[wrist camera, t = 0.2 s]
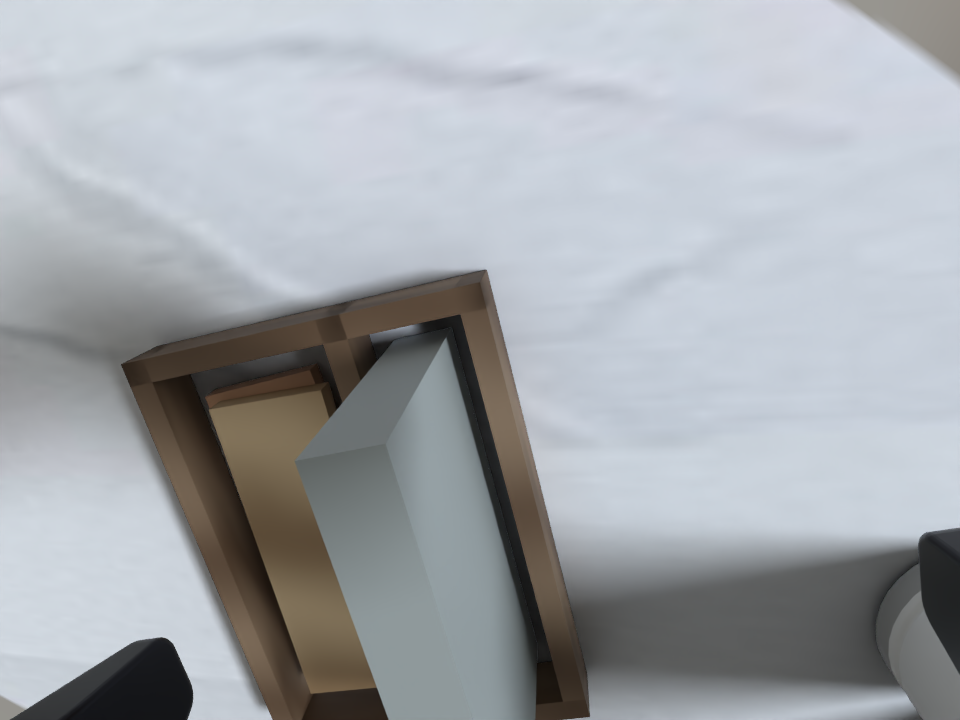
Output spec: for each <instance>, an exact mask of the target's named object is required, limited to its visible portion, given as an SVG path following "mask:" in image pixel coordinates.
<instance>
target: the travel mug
mask: <svg viewBox="0 0 960 720" xmlns="http://www.w3.org/2000/svg"><path fill="white" fill-rule="evenodd" d="M875 636H876V641H877V645H878V650H879V652H880V654H881V656H882V658H883V660H884V662H885V664H886V665H887V667H888V668H889V670H890V671H891V673H892V674H893V676H894V677H895V679H896V680H897V682H898V683H899V685H900V686H901V688H902V689H903V690H904V691H905V692H906V694H907V696H908V698H909V700H910V701H911V703H912V704H913V706H914V707H915V709H916V710H917V712H918V713H919V715H920V716H921V718H922V719H923V720H960V675H959V673H958V671H957V670H956V668H955V666H954V664H953V663H952V661H951V659H950V657H949V656H948V654H947V652H946V650H945V649H944V647H943V645H942V644H941V642H940V640H939V638H938V637H937V635H936V633H935V631H934V630H933V628H932V626H931V624H930V622H929V620H928V618H927V616H926V614H925V611H924V607H923V603H922V598H921V584H920V569H919V563H918V564H917V565H915V566H913V567H912V568H911V569H909V570H908V571H907V572H906V573H905V574H903V575H902V576H901V577H900V578H899V579H898V580H897V581H896V582H895V583H894V585H893V586H892V587H891V588H890V589H889V591H888V592H887V594H886V596H885V598H884V599H883V601H882V603H881V605H880V609H879V612H878V616H877V619H876V633H875Z"/></svg>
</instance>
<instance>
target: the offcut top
mask: <svg viewBox="0 0 960 720" xmlns="http://www.w3.org/2000/svg"><path fill="white" fill-rule="evenodd" d="M336 410H337V408H336V405H335V402H334V398H333V395H332V392H331V388H330V385H329V382H325V383H319V384H313V385H308V386H302V387H296V388H290V389H285V390H279V391H273V392H268V393H262V394H256V395H250V396H245V397H239V398H233V399H228V400H222V401H219V402H218V403H217V404H215V405H214V406H213V407H211V408H210V409H209V412H210V415H211V418H212V421H213V423H214V426H215V429H216V432H217V434H218V437H219V440H220V443H221V446H222V448H223V451H224V454H225V457H226V459H227V462H228V465H229V468H230V471H231V473H232V476H233V479H234V482H235V484H236V487H237V490H238V493H239V496H240V498H241V501H242V504H243V507H244V509H245V512H246V515H247V518H248V521H249V523H250V526H251V529H252V532H253V534H254V537H255V540H256V543H257V546H258V548H259V551H260V554H261V557H262V559H263V562H264V565H265V568H266V571H267V573H268V576H269V579H270V582H271V584H272V587H273V590H274V593H275V596H276V598H277V601H278V604H279V607H280V609H281V612H282V615H283V618H284V620H285V623H286V626H287V629H288V632H289V634H290V637H291V640H292V643H293V645H294V648H295V651H296V654H297V657H298V659H299V662H300V665H301V668H302V670H303V673H304V676H305V679H306V682H307V684H308V687H309V690H310V693H311V694H313V693H324V692H334V691H345V690H356V689H366V688H377V686H376V684H375V681H374V678H373V675H372V673H371V670H370V667H369V664H368V662H367V659H366V656H365V653H364V651H363V648H362V645H361V642H360V640H359V637H358V634H357V631H356V629H355V626H354V623H353V620H352V618H351V615H350V612H349V609H348V607H347V604H346V601H345V598H344V596H343V593H342V590H341V587H340V585H339V582H338V579H337V576H336V574H335V571H334V568H333V565H332V563H331V560H330V557H329V554H328V552H327V549H326V546H325V543H324V541H323V538H322V535H321V532H320V530H319V527H318V524H317V521H316V519H315V516H314V513H313V510H312V508H311V505H310V502H309V499H308V497H307V494H306V491H305V488H304V486H303V483H302V480H301V477H300V475H299V472H298V469H297V466H296V464H295V460H296V459H297V457H298V456H299V455H300V454H301V453H302V451H303V450H304V449H305V448H306V446H307V445H308V444H309V443H310V442H311V440H312V439H313V438H314V437H315V436H316V434H317V433H318V432H319V431H320V430H321V428H322V427H323V426H324V425H325V423H326V422H327V421H328V420H329V419H330V417H331V416H332V415H333V414H334V413H335V411H336Z"/></svg>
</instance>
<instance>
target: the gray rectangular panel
mask: <svg viewBox="0 0 960 720" xmlns="http://www.w3.org/2000/svg"><path fill="white" fill-rule="evenodd" d="M295 464H296V466H297V469H298V472H299V475H300V477H301V480H302V483H303V486H304V488H305V491H306V494H307V497H308V499H309V502H310V505H311V508H312V510H313V513H314V516H315V519H316V521H317V524H318V527H319V530H320V532H321V535H322V538H323V541H324V543H325V546H326V549H327V552H328V554H329V557H330V560H331V563H332V565H333V568H334V571H335V574H336V576H337V579H338V582H339V585H340V587H341V590H342V593H343V596H344V598H345V601H346V604H347V607H348V609H349V612H350V615H351V618H352V620H353V623H354V626H355V629H356V631H357V634H358V637H359V640H360V642H361V645H362V648H363V651H364V653H365V656H366V659H367V662H368V664H369V667H370V670H371V673H372V675H373V678H374V681H375V684H376V686H377V689H378V692H379V695H380V697H381V700H382V703H383V706H384V708H385V711H386V714H387V717H388V719H389V720H535V713H536V683H537V652H538V644H537V640H536V637H535V633H534V629H533V626H532V622H531V618H530V614H529V611H528V607H527V603H526V600H525V596H524V592H523V589H522V585H521V581H520V578H519V574H518V570H517V566H516V563H515V559H514V555H513V552H512V548H511V544H510V541H509V537H508V533H507V529H506V526H505V522H504V518H503V515H502V511H501V507H500V504H499V500H498V496H497V493H496V489H495V485H494V481H493V478H492V474H491V470H490V467H489V463H488V459H487V456H486V452H485V448H484V445H483V441H482V437H481V433H480V430H479V426H478V422H477V419H476V415H475V411H474V408H473V404H472V400H471V397H470V393H469V389H468V385H467V382H466V378H465V374H464V371H463V367H462V363H461V360H460V356H459V352H458V348H457V345H456V341H455V337H454V334H453V330H452V327H450V328H446V329H441V330H437V331H432V332H427V333H423V334H418V335H414V336H409V337H404V338H400V339H395V340H394V341H393V342H392V344H391V345H390V346H389V347H388V348H387V350H386V351H385V352H384V353H383V355H382V356H381V357H380V358H379V359H378V361H377V362H376V363H375V364H374V365H373V367H372V368H371V369H370V370H369V371H368V373H367V374H366V375H365V376H364V378H363V379H362V380H361V381H360V382H359V384H358V385H357V386H356V387H355V388H354V390H353V391H352V392H351V393H350V394H349V396H348V397H347V398H346V399H345V400H344V402H343V403H342V404H341V405H340V407H339V408H338V409H337V410H336V411H335V413H334V414H333V415H332V416H331V417H330V419H329V420H328V421H327V422H326V423H325V425H324V426H323V427H322V428H321V430H320V431H319V432H318V433H317V434H316V436H315V437H314V438H313V439H312V440H311V442H310V443H309V444H308V445H307V446H306V448H305V449H304V450H303V451H302V453H301V454H300V455H299V456H298V457H297V459H296V460H295Z"/></svg>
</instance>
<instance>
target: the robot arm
mask: <svg viewBox="0 0 960 720" xmlns="http://www.w3.org/2000/svg"><path fill="white" fill-rule="evenodd" d="M918 554H919V569H920V584H921V598H922V603H923V607H924V611H925V614H926V616H927V618H928V620H929V622H930V624H931V626H932V628H933V630H934V631H935V633H936V635H937V637H938V638H939V640H940V642H941V644H942V645H943V647H944V649H945V650H946V652H947V654H948V656H949V657H950V659H951V661H952V663H953V664H954V666H955V668H956V670H957V671H958V673H959V675H960V528H955V529H948V530H940V531H933V532H927V533H924V534H923V535H922V536H921V537H920V539H919V543H918ZM192 703H193V689H192V685H191V683H190V680H189V678H188V676H187V674H186V671H185V669H184V667H183V665H182V662H181V660H180V658H179V656H178V653H177V651H176V649H175V647H174V645H173V643H172V642H170V641H169V640H168V639H166V638H162V637H161V638H153V639H146V640H139V641H136V642H133V643H131V644H129V645H128V646H126V647H125V648H123V649H121V650H120V651H118V652H117V653H115V654H114V655H112V656H110V657H109V658H107V659H106V660H104V661H102V662H101V663H99V664H98V665H96V666H94V667H93V668H91V669H90V670H88V671H87V672H85V673H83V674H82V675H80V676H79V677H77V678H75V679H74V680H72V681H71V682H69V683H68V684H66V685H64V686H63V687H61V688H60V689H58V690H56V691H55V692H53V693H52V694H50V695H48V696H47V697H45V698H44V699H42V700H41V701H39V702H37V703H36V704H34V705H33V706H31V707H29V708H28V709H26V710H25V711H23V712H21V713H20V714H18V715H17V716H15V717H14V718H12V719H10V720H187V719H188V716H189V714H190V711H191V708H192Z"/></svg>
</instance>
